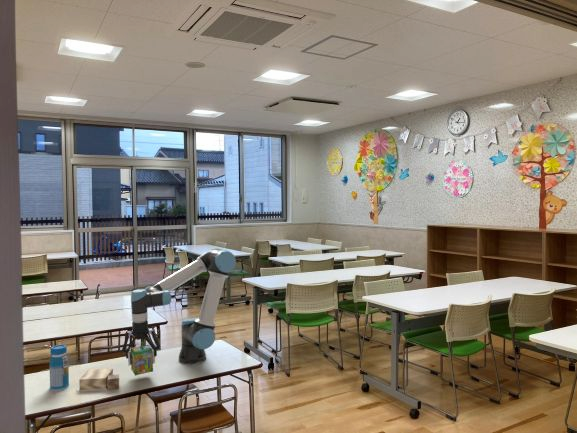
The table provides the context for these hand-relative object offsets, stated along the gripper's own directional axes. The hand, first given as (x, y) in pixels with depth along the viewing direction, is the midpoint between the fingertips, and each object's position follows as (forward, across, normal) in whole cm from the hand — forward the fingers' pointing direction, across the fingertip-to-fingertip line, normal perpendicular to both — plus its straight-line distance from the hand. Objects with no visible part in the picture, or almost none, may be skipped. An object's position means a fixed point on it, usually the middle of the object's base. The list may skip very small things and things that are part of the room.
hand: (141, 363), depth 222 cm
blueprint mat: (+7, +18, +2) cm, 19 cm away
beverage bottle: (+7, +38, +5) cm, 39 cm away
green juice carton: (+4, 0, 0) cm, 4 cm away
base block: (+7, +21, +4) cm, 22 cm away
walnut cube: (+7, +12, +9) cm, 17 cm away
